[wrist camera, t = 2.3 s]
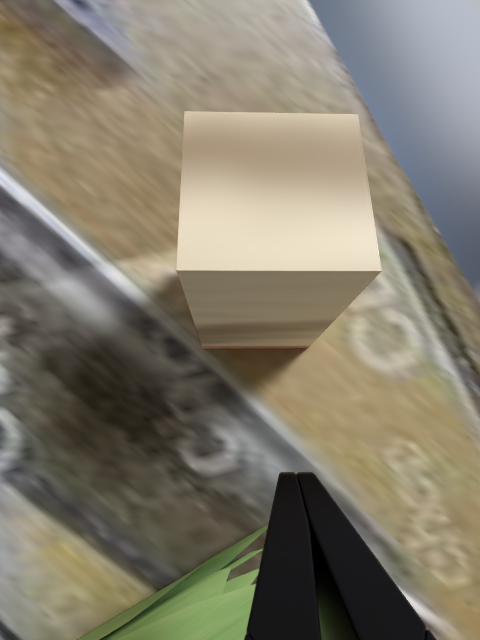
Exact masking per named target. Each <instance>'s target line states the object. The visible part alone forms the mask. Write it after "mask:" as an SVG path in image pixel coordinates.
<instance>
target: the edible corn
mask: <svg viewBox="0 0 480 640" xmlns="http://www.w3.org/2000/svg"><path fill="white" fill-rule="evenodd" d="M267 528H268V525H266V526H264V527H263V528H261V529H259V530H258V531H256V532H254V533H252V534H251V535H249V536H247V537H246V538H244V539H242V540H241V541H239V542H237V543H236V544H234V545H232V546H231V547H229V548H227V549H225V550H224V551H222V552H220V553H219V554H217V555H215V556H214V557H212V558H211V559H209V560H208V561H206V562H205V563H203V564H202V565H200V566H199V567H197V568H196V569H194V570H193V571H191V572H190V573H188V574H186V575H185V576H183V577H181V578H180V579H178V580H177V581H175V582H173V583H172V584H170V585H168V586H167V587H165V588H163V589H162V590H160V591H158V592H156V593H155V594H153V595H151V596H150V597H148V598H146V599H145V600H143V601H141V602H140V603H138V604H136V605H135V606H133V607H131V608H129V609H128V610H126V611H124V612H123V613H121V614H119V615H118V616H116V617H114V618H113V619H111V620H109V621H107V622H106V623H104V624H102V625H101V626H99V627H97V628H96V629H94V630H92V631H91V632H89V633H87V634H85V635H84V636H82V637H80V638H79V639H77V640H244V638H245V635H246V629H247V625H248V620H249V615H250V610H251V605H252V601H253V596H254V591H255V586H256V584H254V585H251V583H252V582H253V581H254V579H255V578H256V576H257V575H258V572H259V569H256V570H254V571H251V572H249V573H246V574H244V575H241V576H239V577H236V578H234V579H231V580H229V581H227V578H228V575H229V572H230V570H232V569H234V568H235V567H237V566H238V565H240V564H241V563H243V562H245V561H246V560H248V559H249V558H251V557H252V556H254V555H256V554H257V553H259V552H260V551H262V550H263V549H261V550H257V551H254V552H250V553H248V554H246V555H245V556H243V557H241V558H240V559H238V560H236V561H235V562H233V563H231V564H230V565H228V566H226V565H227V564H228V563H229V562H230V561H231V560H233V559H234V558H235V557H236V556H237V555H238V554H239V553H240V552H242V551H243V550H244V549H245V548H246V547H247V546H248V545H249V544H251V543H252V542H253V541H254V540H255V539H256V538H257V537H258V536H260V535H261V534H262V533H263V532H264V531H265V530H266V529H267ZM225 566H226V567H225ZM223 567H225V568H223ZM222 568H223V569H222ZM220 569H221V570H220ZM250 585H251V586H250Z"/></svg>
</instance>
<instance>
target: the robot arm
mask: <svg viewBox="0 0 480 640" xmlns="http://www.w3.org/2000/svg"><path fill="white" fill-rule="evenodd" d="M244 640H436V638H435V637H434V636H433V634H432V633H431V632H430V630H426V625H425V624H424V622H423V621H422V620H421V618H420V617H419V615H418V614H417V613H416V611H415V610H414V609H413V607H412V606H411V605H410V603H409V602H408V600H407V599H406V598H405V596H404V595H403V594H402V592H401V591H400V590H399V588H398V587H397V585H396V584H395V583H394V581H393V580H392V579H391V577H390V576H389V575H388V573H387V572H386V570H385V569H384V568H383V566H382V565H381V564H380V562H379V561H378V560H377V558H376V557H375V555H374V554H373V553H372V551H371V550H370V549H369V547H368V546H367V545H366V543H365V542H364V540H363V539H362V538H361V536H360V535H359V534H358V532H357V531H356V530H355V528H354V527H353V525H352V524H351V523H350V521H349V520H348V519H347V517H346V516H345V515H344V513H343V512H342V510H341V509H340V508H339V506H338V505H337V504H336V502H335V501H334V500H333V498H332V497H331V495H330V494H329V493H328V491H327V490H326V489H325V487H324V486H323V485H322V483H321V482H320V480H319V479H318V478H317V476H316V475H315V474H314V473H312V472H298V473H297V474H296V473H294V472H281V473H280V474H279V477H278V482H277V486H276V491H275V496H274V501H273V505H272V510H271V515H270V520H269V524H268V529H267V534H266V539H265V544H264V548H263V553H262V558H261V563H260V567H259V572H258V577H257V582H256V586H255V591H254V596H253V601H252V605H251V610H250V615H249V620H248V625H247V629H246V635H245V638H244Z"/></svg>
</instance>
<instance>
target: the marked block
mask: <svg viewBox="0 0 480 640" xmlns="http://www.w3.org/2000/svg"><path fill="white" fill-rule="evenodd" d="M381 271H382V270H381V264H380V257H379V250H378V244H377V237H376V231H375V224H374V217H373V211H372V204H371V197H370V191H369V184H368V178H367V171H366V164H365V158H364V151H363V145H362V138H361V131H360V125H359V118H358V114H304V113H247V112H189V111H185V116H184V135H183V155H182V174H181V193H180V213H179V232H178V252H177V273H178V276H179V279H180V282H181V285H182V288H183V291H184V294H185V297H186V300H187V303H188V306H189V309H190V312H191V315H192V318H193V321H194V324H195V327H196V330H197V333H198V336H199V339H200V342H201V345H202V348H203V349H235V348H308V347H309V346H310V345H311V344H312V343H313V342H314V341H315V340H316V339H317V338H318V337H319V336H320V335H321V334H322V333H323V332H324V331H325V330H326V329H327V328H328V327H329V326H330V324H331V323H332V322H333V321H334V320H335V319H336V318H337V317H338V316H339V315H340V314H341V313H342V312H343V311H344V310H345V309H346V308H347V307H348V306H349V305H350V304H351V303H352V301H353V300H354V299H355V298H356V297H357V296H358V295H359V294H360V293H361V292H362V291H363V290H364V289H365V288H366V287H367V286H368V285H369V284H370V283H371V282H372V281H373V280H374V278H375V277H376V276H377V275H378V274H379V273H380V272H381Z"/></svg>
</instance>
